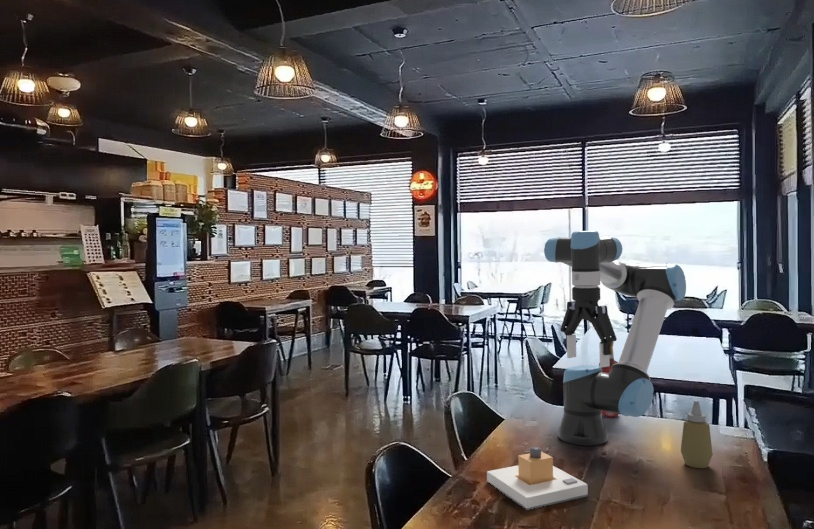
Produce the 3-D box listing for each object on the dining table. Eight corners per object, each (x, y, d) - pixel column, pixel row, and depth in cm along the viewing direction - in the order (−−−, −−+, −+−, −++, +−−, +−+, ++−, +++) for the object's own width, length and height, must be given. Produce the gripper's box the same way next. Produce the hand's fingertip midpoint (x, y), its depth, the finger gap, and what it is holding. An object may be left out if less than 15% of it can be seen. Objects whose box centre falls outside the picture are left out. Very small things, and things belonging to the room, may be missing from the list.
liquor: (599, 412, 218) (599, 336, 217) (620, 413, 215) (620, 337, 214) (598, 417, 211) (598, 340, 210) (620, 419, 208) (620, 340, 207)
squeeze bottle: (716, 471, 160) (716, 406, 160) (684, 469, 162) (684, 404, 161) (707, 460, 168) (707, 398, 168) (677, 459, 170) (677, 397, 169)
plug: (518, 486, 152) (518, 447, 151) (540, 481, 154) (540, 443, 154) (530, 493, 147) (529, 453, 147) (553, 488, 150) (552, 449, 150)
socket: (487, 482, 155) (486, 469, 155) (543, 471, 163) (543, 458, 162) (527, 510, 139) (526, 496, 139) (587, 496, 146) (587, 482, 146)
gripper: (547, 284, 174) (549, 355, 175) (607, 290, 151) (608, 372, 152) (567, 282, 177) (569, 352, 178) (629, 288, 154) (631, 368, 155)
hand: (587, 361), depth 165 cm, fingers open, 13 cm apart
